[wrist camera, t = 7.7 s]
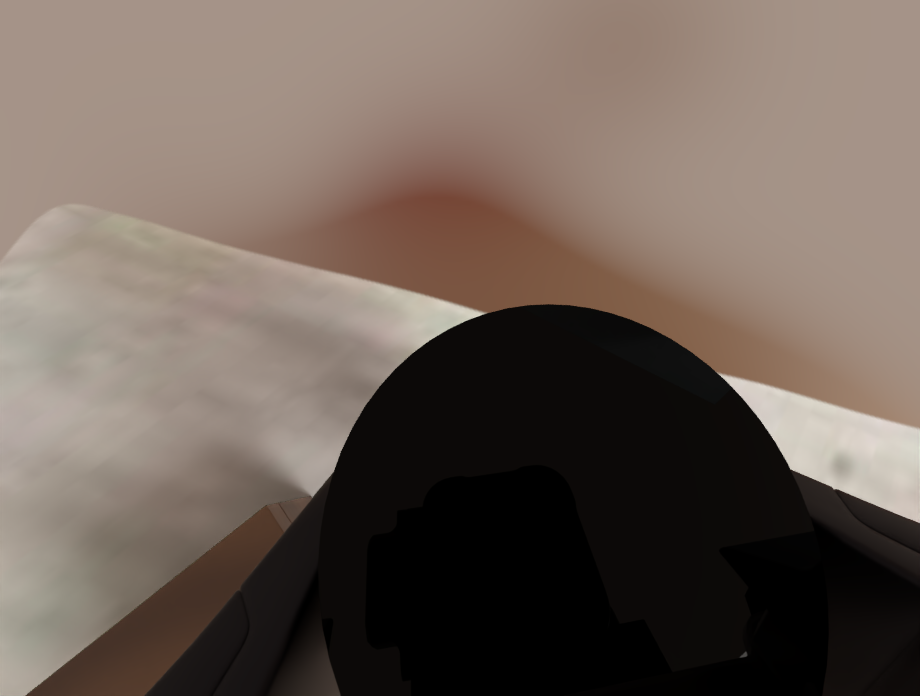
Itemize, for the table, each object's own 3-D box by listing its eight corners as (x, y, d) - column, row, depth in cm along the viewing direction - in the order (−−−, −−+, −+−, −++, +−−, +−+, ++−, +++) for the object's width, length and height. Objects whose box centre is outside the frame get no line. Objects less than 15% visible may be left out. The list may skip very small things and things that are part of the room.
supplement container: (575, 588, 14) (922, 883, 4) (396, 590, 13) (271, 920, 3) (559, 410, 16) (751, 307, 6) (405, 409, 16) (346, 297, 6)
